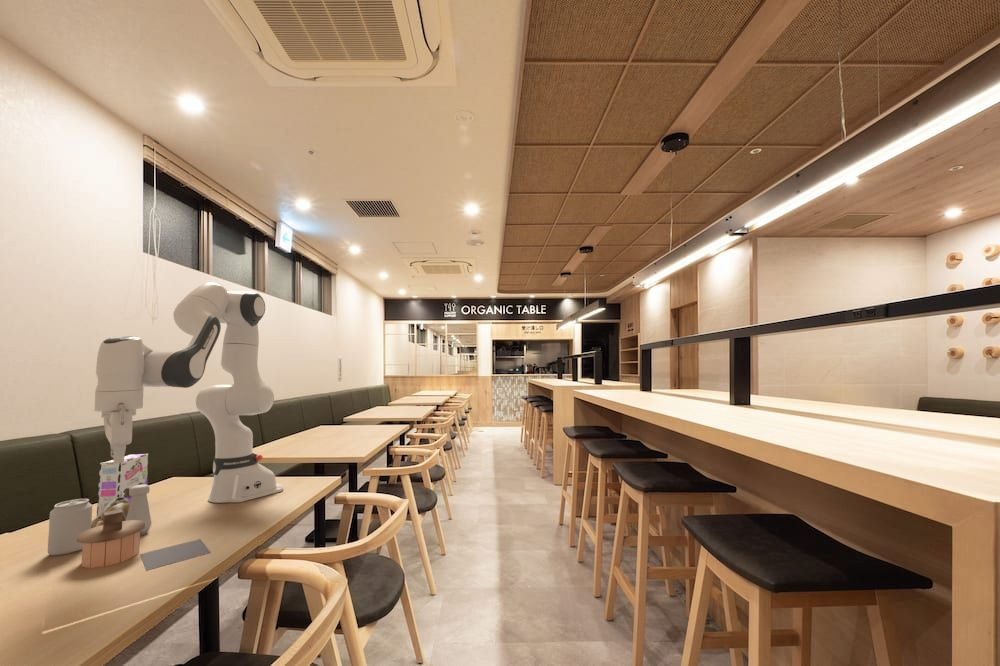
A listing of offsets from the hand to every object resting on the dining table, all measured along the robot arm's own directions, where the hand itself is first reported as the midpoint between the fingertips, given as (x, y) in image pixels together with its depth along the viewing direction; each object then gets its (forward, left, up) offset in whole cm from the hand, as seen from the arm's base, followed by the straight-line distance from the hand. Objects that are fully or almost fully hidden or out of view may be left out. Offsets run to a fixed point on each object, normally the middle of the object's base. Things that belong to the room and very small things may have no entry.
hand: (117, 459), depth 103 cm
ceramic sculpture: (-3, -25, -23) cm, 34 cm away
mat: (-11, +10, -23) cm, 27 cm away
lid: (0, +1, -17) cm, 17 cm away
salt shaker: (-6, -14, -23) cm, 28 cm away
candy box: (-5, -45, -23) cm, 51 cm away
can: (+7, -13, -23) cm, 28 cm away
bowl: (0, +1, -23) cm, 23 cm away
